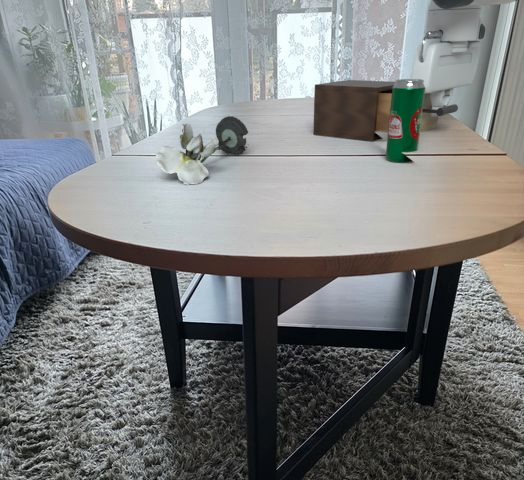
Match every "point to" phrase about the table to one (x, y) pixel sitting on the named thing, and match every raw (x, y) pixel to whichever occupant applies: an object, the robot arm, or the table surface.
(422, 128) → the drawer
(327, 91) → the cabinet
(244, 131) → the artificial flower
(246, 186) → the table surface
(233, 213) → the table surface
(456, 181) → the table surface
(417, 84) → the soda can
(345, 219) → the table surface
